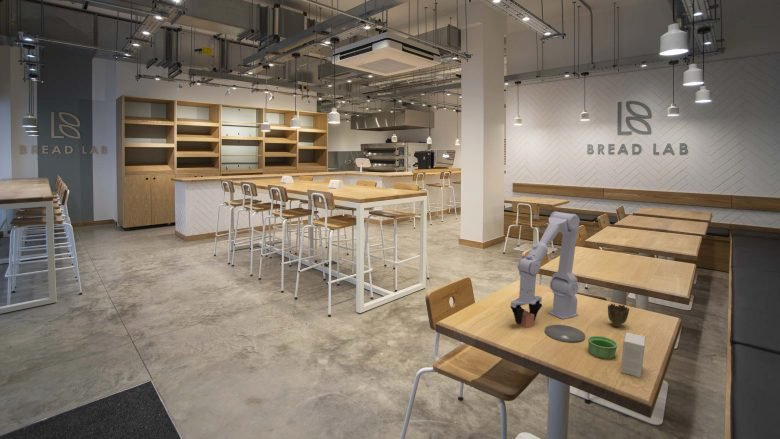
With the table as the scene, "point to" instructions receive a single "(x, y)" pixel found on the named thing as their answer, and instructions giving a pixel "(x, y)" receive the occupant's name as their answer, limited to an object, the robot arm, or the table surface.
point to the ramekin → (602, 347)
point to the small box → (633, 354)
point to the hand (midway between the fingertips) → (525, 321)
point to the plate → (565, 333)
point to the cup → (617, 314)
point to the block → (527, 319)
